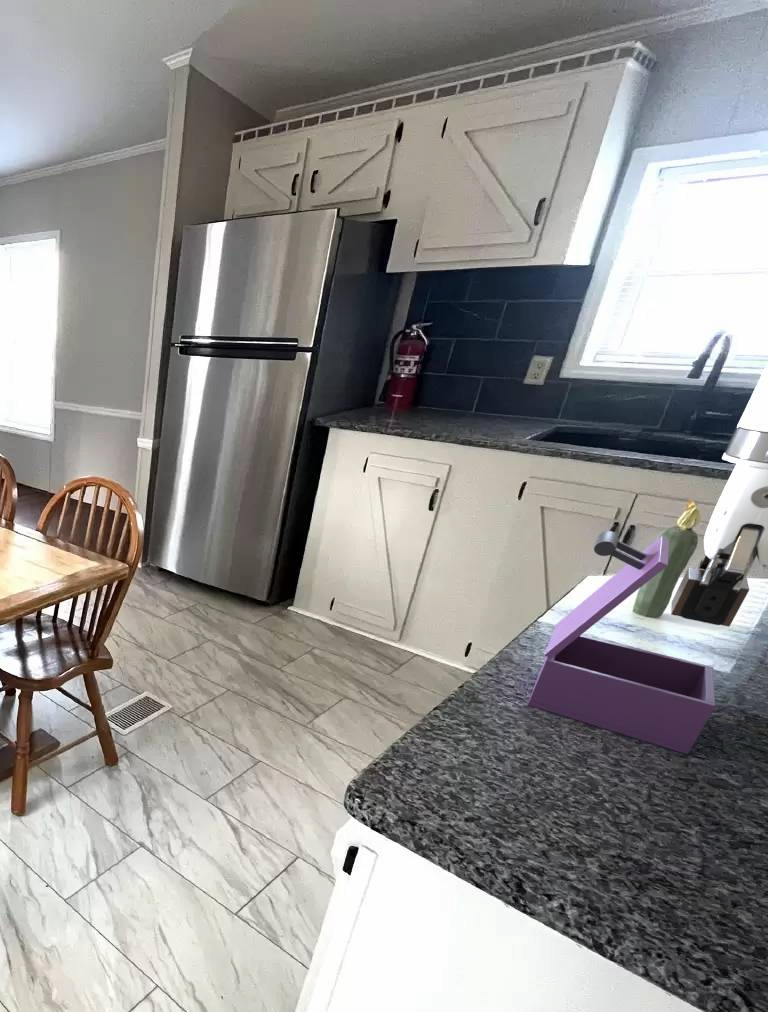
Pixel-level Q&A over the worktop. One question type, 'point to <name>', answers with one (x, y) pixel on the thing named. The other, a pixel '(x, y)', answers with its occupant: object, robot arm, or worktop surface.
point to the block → (687, 586)
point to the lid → (610, 587)
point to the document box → (628, 691)
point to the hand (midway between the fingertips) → (700, 611)
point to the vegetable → (669, 565)
